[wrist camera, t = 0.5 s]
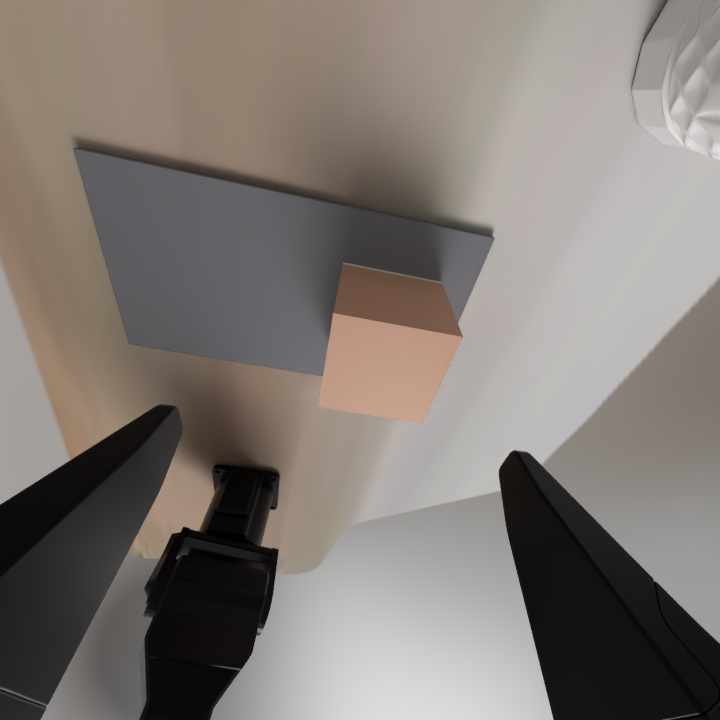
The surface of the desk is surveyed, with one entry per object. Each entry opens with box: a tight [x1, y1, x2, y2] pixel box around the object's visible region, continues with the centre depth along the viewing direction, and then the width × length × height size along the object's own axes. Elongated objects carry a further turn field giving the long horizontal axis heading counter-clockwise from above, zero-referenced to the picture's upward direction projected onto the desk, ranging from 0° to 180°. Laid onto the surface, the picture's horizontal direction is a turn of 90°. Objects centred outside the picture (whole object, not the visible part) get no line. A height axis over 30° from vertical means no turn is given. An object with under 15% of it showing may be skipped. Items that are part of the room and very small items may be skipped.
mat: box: [74, 148, 494, 376], centre depth 21 cm, size 12×22×1 cm, turn 79°
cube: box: [318, 262, 463, 423], centre depth 19 cm, size 6×6×6 cm
